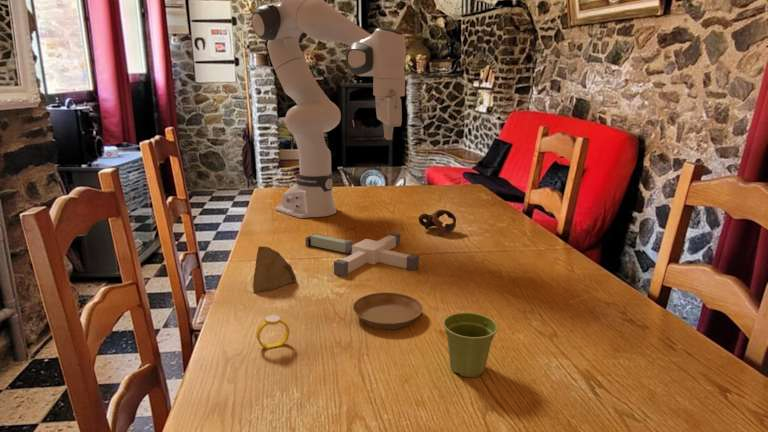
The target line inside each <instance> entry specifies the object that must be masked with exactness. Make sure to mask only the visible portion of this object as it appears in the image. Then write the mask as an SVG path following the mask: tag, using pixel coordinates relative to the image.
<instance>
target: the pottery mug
mask: <svg viewBox="0 0 768 432" xmlns="http://www.w3.org/2000/svg"><path fill="white" fill-rule="evenodd" d="M444 215H446V216H447V218H449V219H452V222H451V223H445V225H444V222H443V221H442V220H440V218H441V217H443V216H444ZM418 222H419V224H420V225H421V226H422V227H424V229H425V230H426V231H428V230H429V228H433V227H436V228H438V229H439V231H438V232H437V235H438V236H440V237H443V236H445V234H448V233H450V232H453V231H454V230H455V228H456V225H457V224H456V223H457V218H456V216H455V215H454V214H453V212H451V211H448V210H446V209H437V210H436V211H435V212H433V213H431V214H428V213H422V214H420V215H419V216H418Z"/></svg>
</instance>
